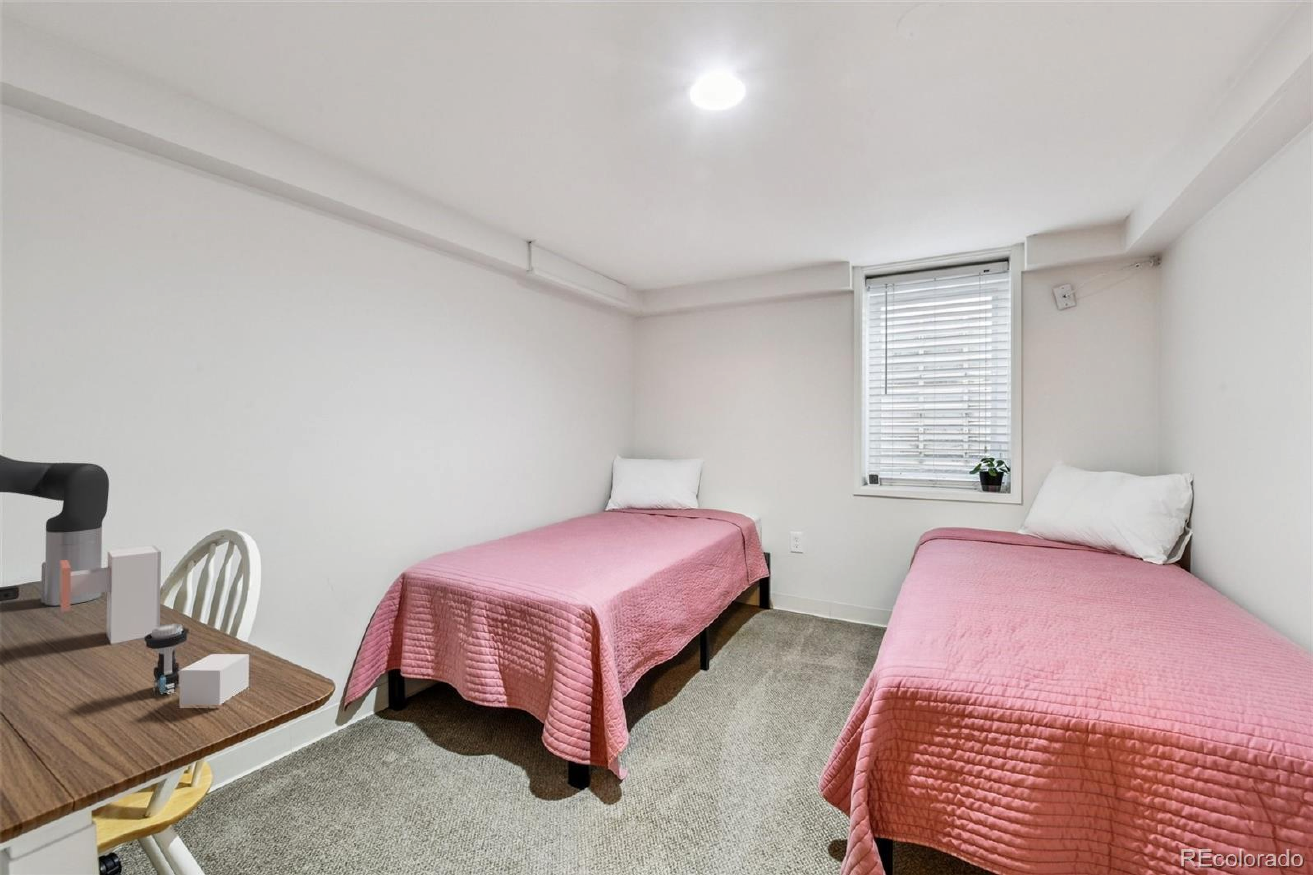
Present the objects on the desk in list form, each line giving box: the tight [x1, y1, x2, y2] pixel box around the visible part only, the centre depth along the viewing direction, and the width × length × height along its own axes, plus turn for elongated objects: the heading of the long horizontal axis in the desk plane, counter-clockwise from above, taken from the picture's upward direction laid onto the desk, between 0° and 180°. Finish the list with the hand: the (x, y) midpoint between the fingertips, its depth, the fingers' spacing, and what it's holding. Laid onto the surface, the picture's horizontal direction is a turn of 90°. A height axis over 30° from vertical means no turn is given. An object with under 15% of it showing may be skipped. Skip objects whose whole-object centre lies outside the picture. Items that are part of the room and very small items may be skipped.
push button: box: [143, 623, 190, 695], centre depth 87 cm, size 7×5×10 cm
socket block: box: [106, 545, 162, 645], centre depth 109 cm, size 7×8×17 cm
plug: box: [59, 560, 111, 613], centre depth 105 cm, size 8×9×8 cm
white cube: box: [178, 653, 250, 706], centre depth 84 cm, size 6×6×6 cm
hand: (18, 591), depth 98 cm, fingers closed
